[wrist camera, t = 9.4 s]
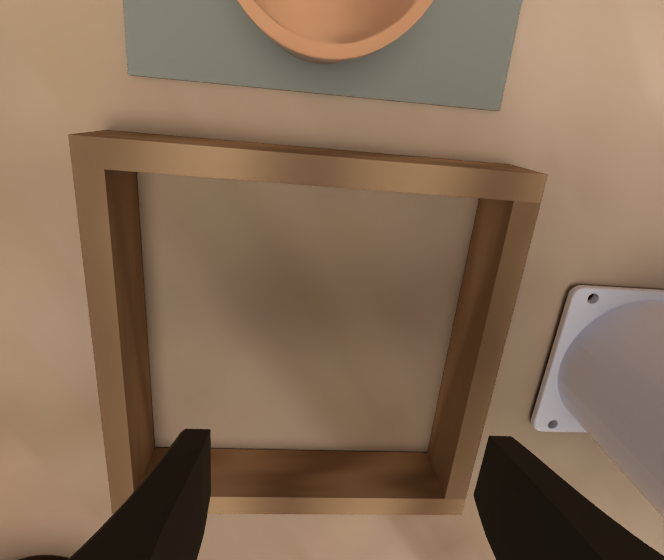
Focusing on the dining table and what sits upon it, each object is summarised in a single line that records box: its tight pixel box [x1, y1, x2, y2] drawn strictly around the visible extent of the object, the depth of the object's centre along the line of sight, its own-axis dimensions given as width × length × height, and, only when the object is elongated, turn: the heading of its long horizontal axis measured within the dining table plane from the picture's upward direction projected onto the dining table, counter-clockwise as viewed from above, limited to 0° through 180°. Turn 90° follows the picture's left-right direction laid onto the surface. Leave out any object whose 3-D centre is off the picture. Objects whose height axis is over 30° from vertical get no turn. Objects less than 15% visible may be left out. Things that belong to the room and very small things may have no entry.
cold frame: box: [68, 130, 548, 515], centre depth 19 cm, size 16×16×3 cm
